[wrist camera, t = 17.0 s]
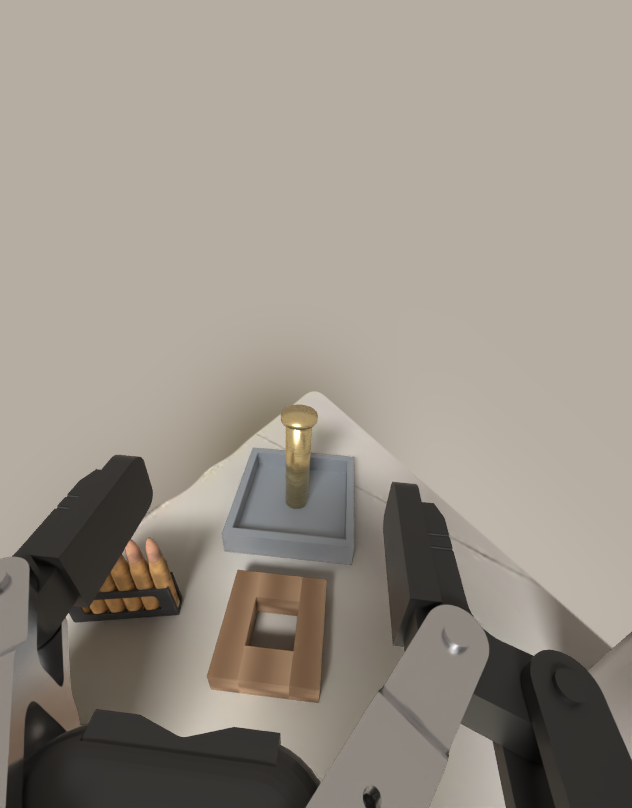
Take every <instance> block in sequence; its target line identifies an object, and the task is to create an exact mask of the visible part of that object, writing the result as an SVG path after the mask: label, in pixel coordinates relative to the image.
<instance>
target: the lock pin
mask: <svg viewBox="0 0 632 808" xmlns="http://www.w3.org/2000/svg"><path fill="white" fill-rule="evenodd" d="M317 418H318V415H317V412H316V411H315V410H314V409H313V408H311V407H309V406H305V405H292V406H289V407H287V408H285V409H284V410H283V411H282V413H281V422H282V423H283V425H285V426H286V486H285V502H286V504H287V506H289V507H290V508H292V509H301V508H303V507H305V506H306V504H307V502H308V487H309V470H310V453H311V435H312V427H313V426H314V425H315V424H316V423H317Z"/></svg>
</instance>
